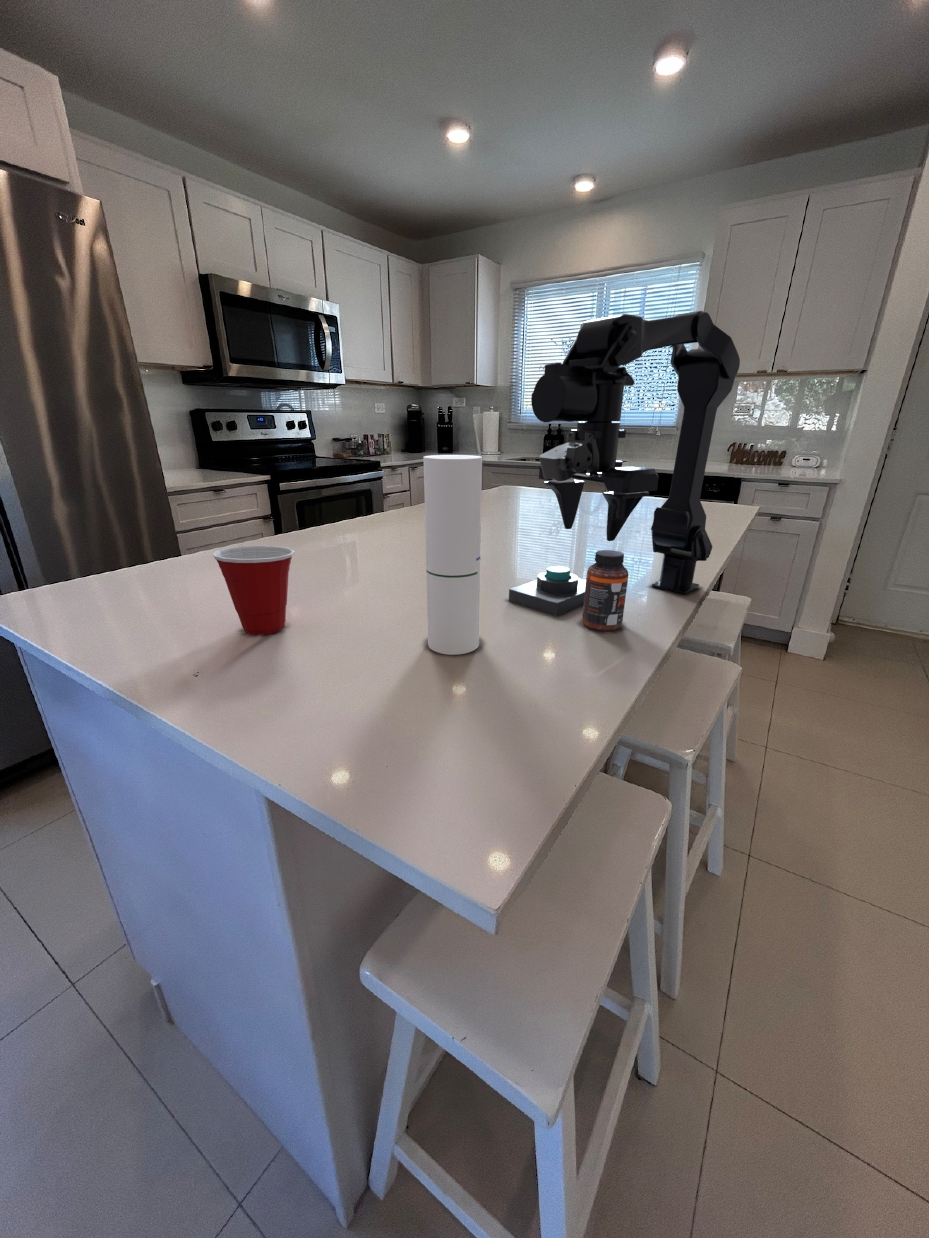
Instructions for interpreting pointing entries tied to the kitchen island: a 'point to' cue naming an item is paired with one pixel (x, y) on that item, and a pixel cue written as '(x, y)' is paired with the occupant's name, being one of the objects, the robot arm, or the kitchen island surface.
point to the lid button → (558, 573)
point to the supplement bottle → (605, 591)
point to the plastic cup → (257, 585)
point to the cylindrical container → (453, 551)
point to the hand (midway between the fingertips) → (588, 534)
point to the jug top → (550, 594)
